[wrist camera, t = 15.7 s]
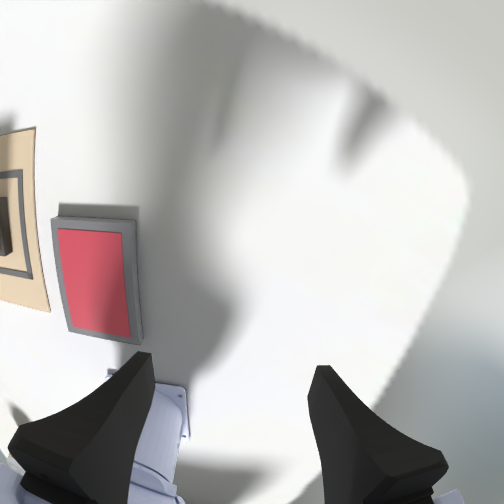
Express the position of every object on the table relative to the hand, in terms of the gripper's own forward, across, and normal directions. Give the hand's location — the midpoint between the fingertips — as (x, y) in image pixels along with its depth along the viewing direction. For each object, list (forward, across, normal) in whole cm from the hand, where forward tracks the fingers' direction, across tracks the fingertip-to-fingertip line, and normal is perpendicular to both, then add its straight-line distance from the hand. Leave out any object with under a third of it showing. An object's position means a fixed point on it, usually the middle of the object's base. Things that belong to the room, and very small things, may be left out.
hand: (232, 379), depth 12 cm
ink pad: (+10, +11, +1) cm, 15 cm away
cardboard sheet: (+10, +23, -3) cm, 25 cm away
